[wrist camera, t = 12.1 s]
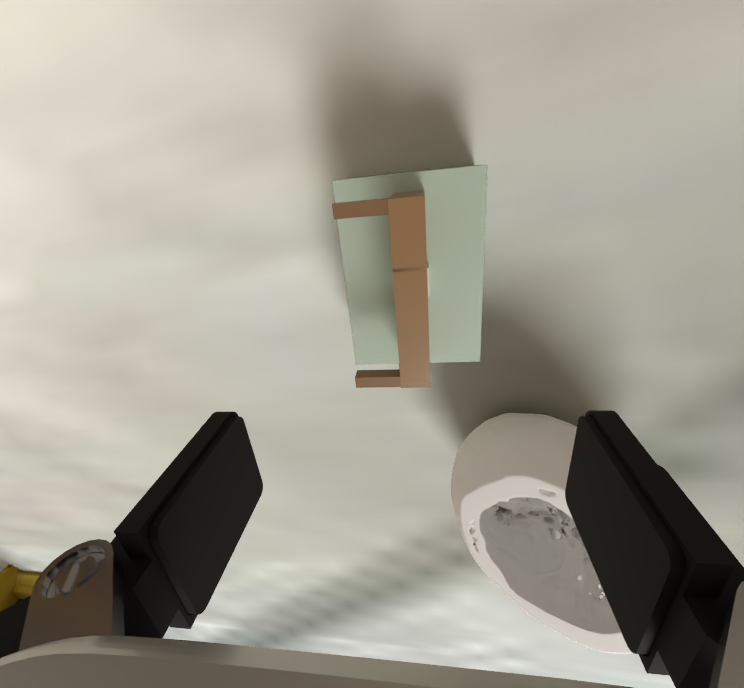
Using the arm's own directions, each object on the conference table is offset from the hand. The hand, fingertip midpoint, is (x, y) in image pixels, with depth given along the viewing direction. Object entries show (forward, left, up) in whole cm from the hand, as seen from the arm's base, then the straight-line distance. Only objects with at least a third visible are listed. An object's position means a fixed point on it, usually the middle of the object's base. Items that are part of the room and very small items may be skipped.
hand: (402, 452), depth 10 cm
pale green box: (0, 0, -24) cm, 24 cm away
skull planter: (+23, +12, -24) cm, 35 cm away
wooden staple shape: (0, -2, -18) cm, 18 cm away
